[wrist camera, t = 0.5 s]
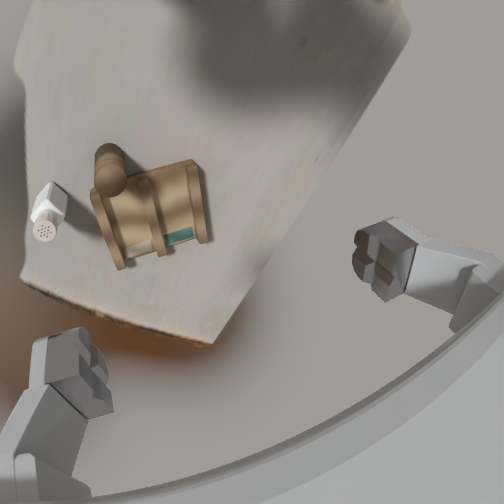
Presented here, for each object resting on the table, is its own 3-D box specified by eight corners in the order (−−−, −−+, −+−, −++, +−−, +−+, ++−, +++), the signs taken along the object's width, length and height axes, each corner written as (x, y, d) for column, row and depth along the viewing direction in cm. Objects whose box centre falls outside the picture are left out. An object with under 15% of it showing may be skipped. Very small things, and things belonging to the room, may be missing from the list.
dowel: (92, 148, 37) (90, 172, 31) (118, 139, 38) (122, 162, 32) (98, 172, 40) (99, 201, 34) (124, 164, 41) (130, 191, 35)
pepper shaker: (53, 213, 40) (47, 250, 33) (35, 197, 37) (24, 233, 30) (69, 195, 39) (65, 230, 33) (51, 178, 36) (42, 211, 30)
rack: (90, 189, 40) (89, 198, 38) (191, 158, 45) (197, 166, 43) (116, 259, 50) (117, 270, 48) (202, 231, 54) (208, 241, 52)
